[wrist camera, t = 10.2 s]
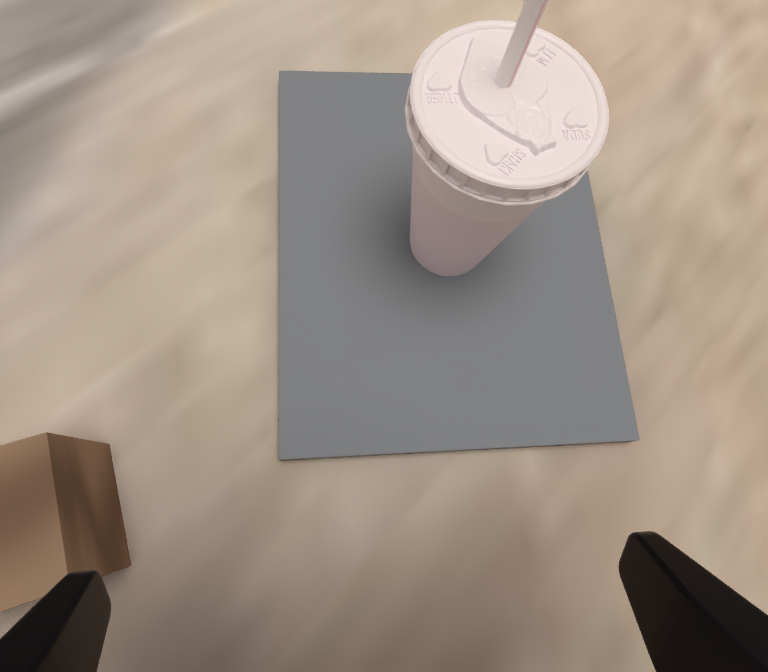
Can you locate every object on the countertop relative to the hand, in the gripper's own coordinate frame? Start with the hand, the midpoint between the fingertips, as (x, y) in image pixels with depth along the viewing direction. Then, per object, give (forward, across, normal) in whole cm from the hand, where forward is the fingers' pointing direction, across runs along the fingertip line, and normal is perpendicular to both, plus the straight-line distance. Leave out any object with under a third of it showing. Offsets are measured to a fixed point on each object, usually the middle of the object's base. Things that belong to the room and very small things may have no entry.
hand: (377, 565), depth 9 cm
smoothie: (+18, -5, 0) cm, 19 cm away
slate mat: (+18, -5, +1) cm, 19 cm away
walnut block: (+10, +12, +9) cm, 18 cm away
